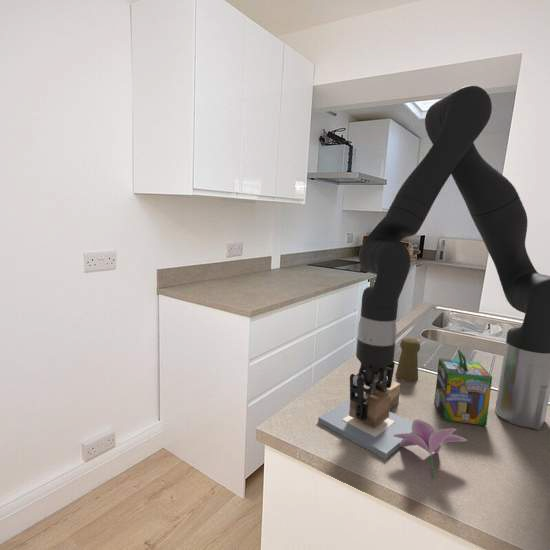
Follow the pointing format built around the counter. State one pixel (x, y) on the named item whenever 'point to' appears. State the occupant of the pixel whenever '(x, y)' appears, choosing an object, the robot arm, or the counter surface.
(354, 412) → the walnut block
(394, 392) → the oak cube
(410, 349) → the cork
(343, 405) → the board
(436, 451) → the lily
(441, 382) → the chalk box
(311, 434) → the counter surface
